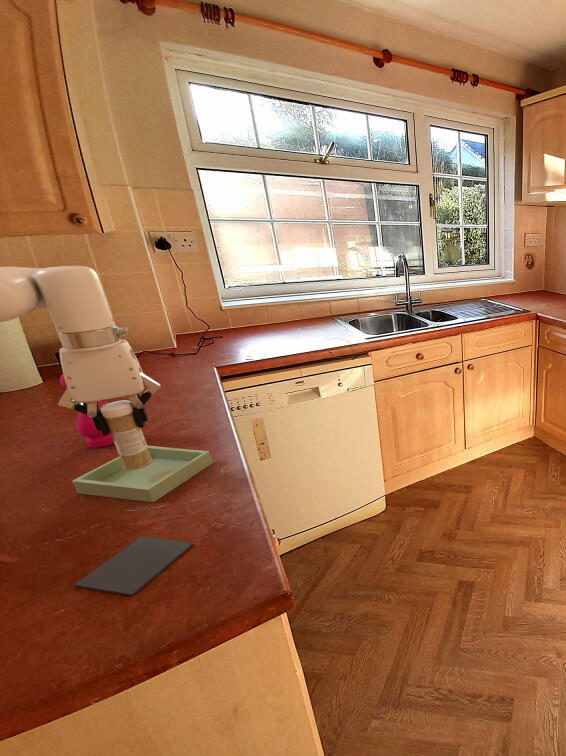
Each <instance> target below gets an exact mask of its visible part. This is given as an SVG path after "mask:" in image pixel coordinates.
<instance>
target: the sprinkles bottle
mask: <svg viewBox="0 0 566 756" xmlns="http://www.w3.org/2000/svg"><path fill="white" fill-rule="evenodd" d="M133 409H134V405H133V403H132V402H131V401H130V400H127V399H126V400H125V399H124V400H116V401H112V402H108V403H106V404H104V406H102V407H101V412H102V415H103V417H104V418H105V420H106V421H107V424H108V427H109V429H110V431H111V434H112V437H113V439H114V445H115V448H116V450H117V453H118V455H119V456H120V457H121V459H122V462H123V465H124V468H125V469H126V470H135V469H140V468H143V467H145V466H147V465H149V464H150V463H151V462H152V461H153V459H152V458H151V456H150V453H149V451H148V446H149V445H148V444H147V440H146V438H145V435H144V433H143V430H142V428H139V426H138V423H137V420H136V418H135V415H134V412H133Z"/></svg>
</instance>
